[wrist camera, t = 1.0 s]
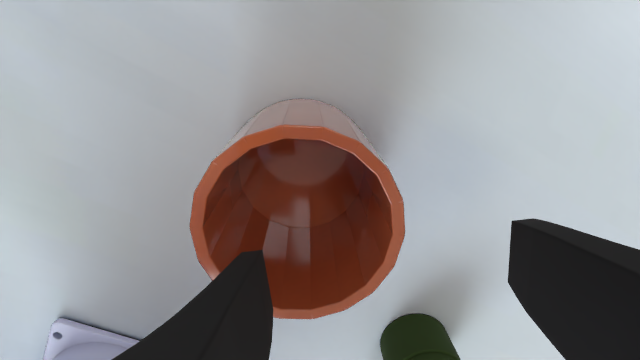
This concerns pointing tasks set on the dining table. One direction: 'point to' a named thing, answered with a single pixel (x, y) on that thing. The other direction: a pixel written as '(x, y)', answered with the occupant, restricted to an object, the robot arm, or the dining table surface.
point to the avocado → (417, 340)
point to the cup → (301, 208)
